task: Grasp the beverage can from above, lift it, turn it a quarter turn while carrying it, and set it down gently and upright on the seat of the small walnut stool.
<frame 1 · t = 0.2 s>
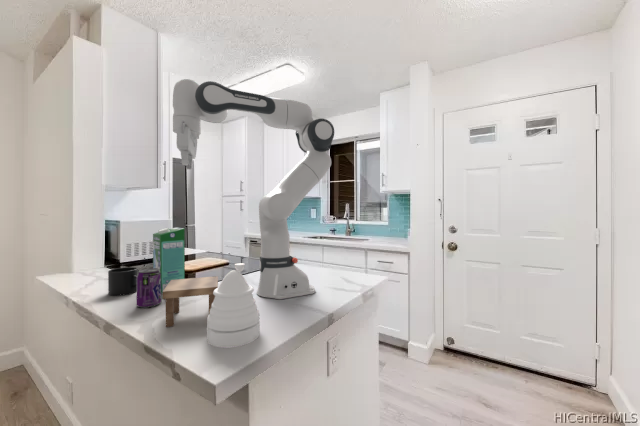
hand: (187, 167, 99), 47 cm above the countertop, tool pointing down, fingers open, 8 cm apart
honey pot: (234, 336, 72), on the countertop
mug: (126, 293, 110), on the countertop
milk carton: (169, 289, 115), on the countertop
walnut stool: (193, 316, 85), on the countertop
beverage can: (149, 305, 95), on the countertop
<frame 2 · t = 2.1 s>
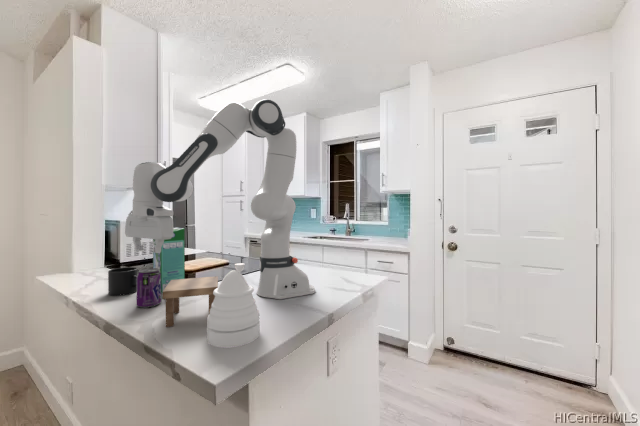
hand: (147, 251, 95), 18 cm above the countertop, tool pointing down, fingers open, 8 cm apart
nothing on the countertop moved.
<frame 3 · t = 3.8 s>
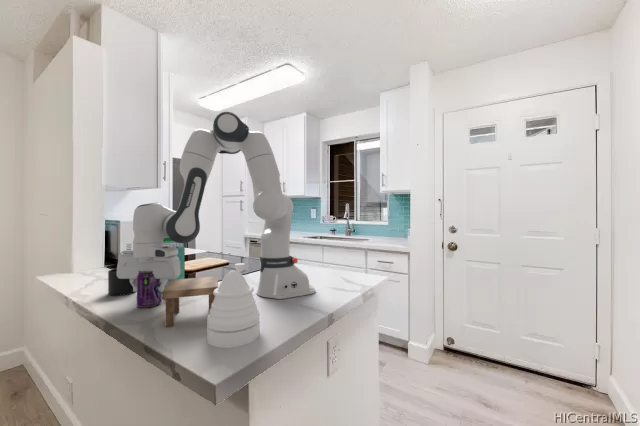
hand: (148, 291, 95), 5 cm above the countertop, tool pointing down, fingers closed on beverage can, 7 cm apart
beverage can: (149, 305, 95), on the countertop, touching gripper
everything else where it was.
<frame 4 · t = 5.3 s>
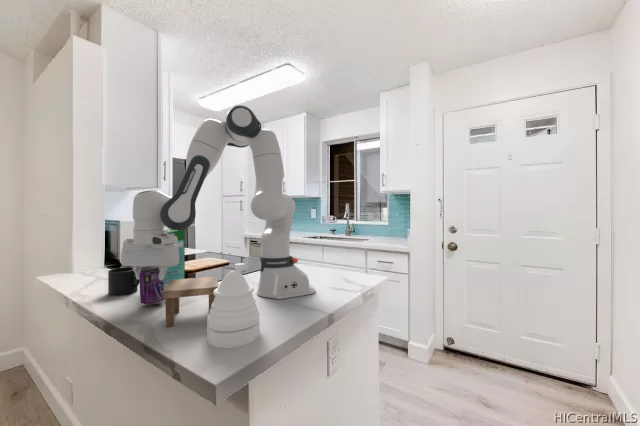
hand: (150, 279, 95), 9 cm above the countertop, tool pointing down, fingers closed on beverage can, 6 cm apart
beverage can: (152, 303, 95), point 1 cm above the countertop, touching gripper
everything else where it was.
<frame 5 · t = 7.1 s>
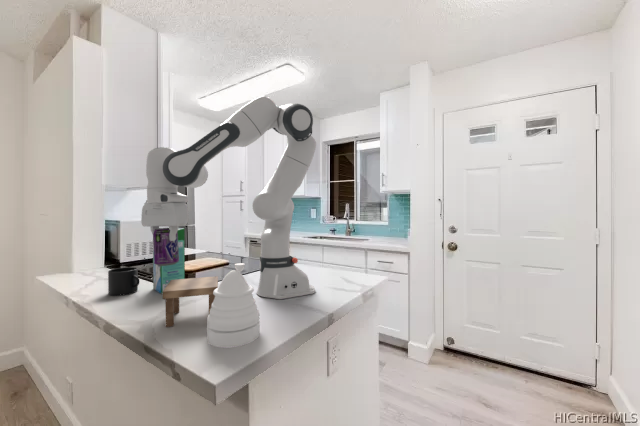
hand: (164, 240, 92), 22 cm above the countertop, tool pointing down, fingers closed on beverage can, 7 cm apart
beverage can: (167, 265, 92), point 14 cm above the countertop, touching gripper
everything else where it was.
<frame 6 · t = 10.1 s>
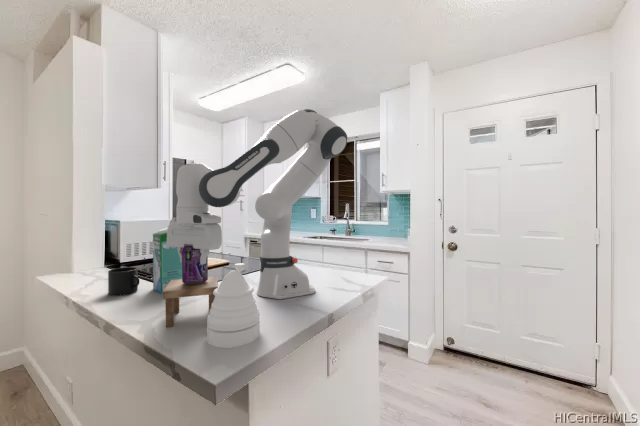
hand: (193, 263, 85), 16 cm above the countertop, tool pointing down, fingers closed on beverage can, 6 cm apart
beverage can: (195, 283, 86), point 10 cm above the countertop, touching gripper, walnut stool
everything else where it was.
when the fingers open (16 cm above the countertop, at t = 10.2 s): beverage can stays where it is, resting on walnut stool.
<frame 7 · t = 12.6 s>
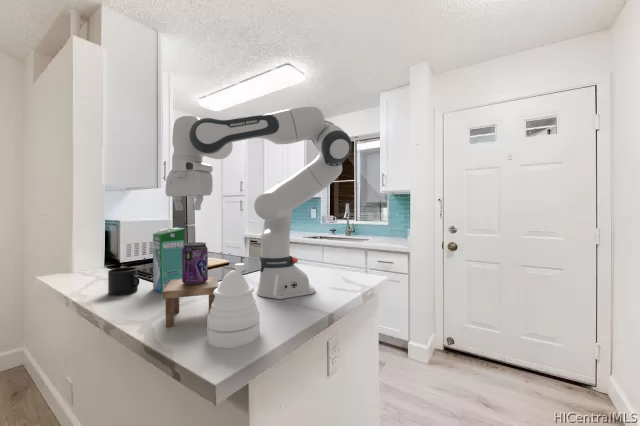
hand: (187, 210, 91), 32 cm above the countertop, tool pointing down, fingers open, 8 cm apart
beverage can: (195, 283, 86), point 10 cm above the countertop, touching walnut stool
everything else where it was.
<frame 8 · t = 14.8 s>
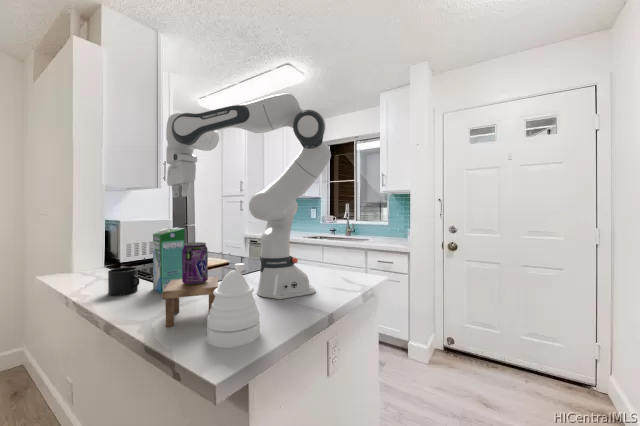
hand: (180, 196, 104), 37 cm above the countertop, tool pointing down, fingers open, 8 cm apart
nothing on the countertop moved.
at the end: beverage can inside the target area on the walnut stool (0.6 cm from its centre), point 9.8 cm above the walnut stool's base; beverage can tilted 0°; the gripper is holding nothing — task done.
